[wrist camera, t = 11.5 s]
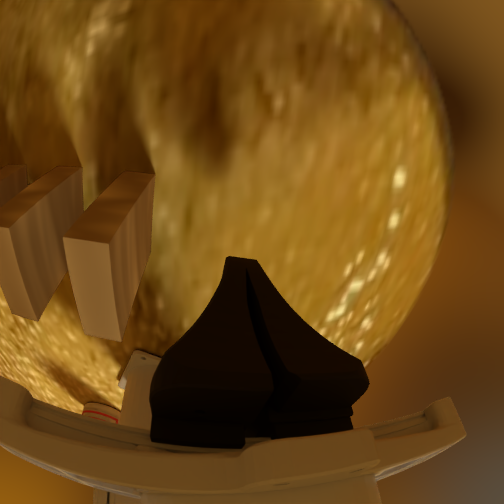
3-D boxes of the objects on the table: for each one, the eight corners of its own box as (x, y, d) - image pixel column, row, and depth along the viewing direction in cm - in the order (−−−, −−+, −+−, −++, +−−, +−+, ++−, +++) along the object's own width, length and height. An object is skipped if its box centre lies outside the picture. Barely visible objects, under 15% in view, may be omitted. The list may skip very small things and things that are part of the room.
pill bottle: (76, 400, 28) (61, 469, 19) (107, 400, 28) (95, 478, 18) (102, 419, 31) (93, 482, 22) (134, 420, 31) (127, 489, 22)
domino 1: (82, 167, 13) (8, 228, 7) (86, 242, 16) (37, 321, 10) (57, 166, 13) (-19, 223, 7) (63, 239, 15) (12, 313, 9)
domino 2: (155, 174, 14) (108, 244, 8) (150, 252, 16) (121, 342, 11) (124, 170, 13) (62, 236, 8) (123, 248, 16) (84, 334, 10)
